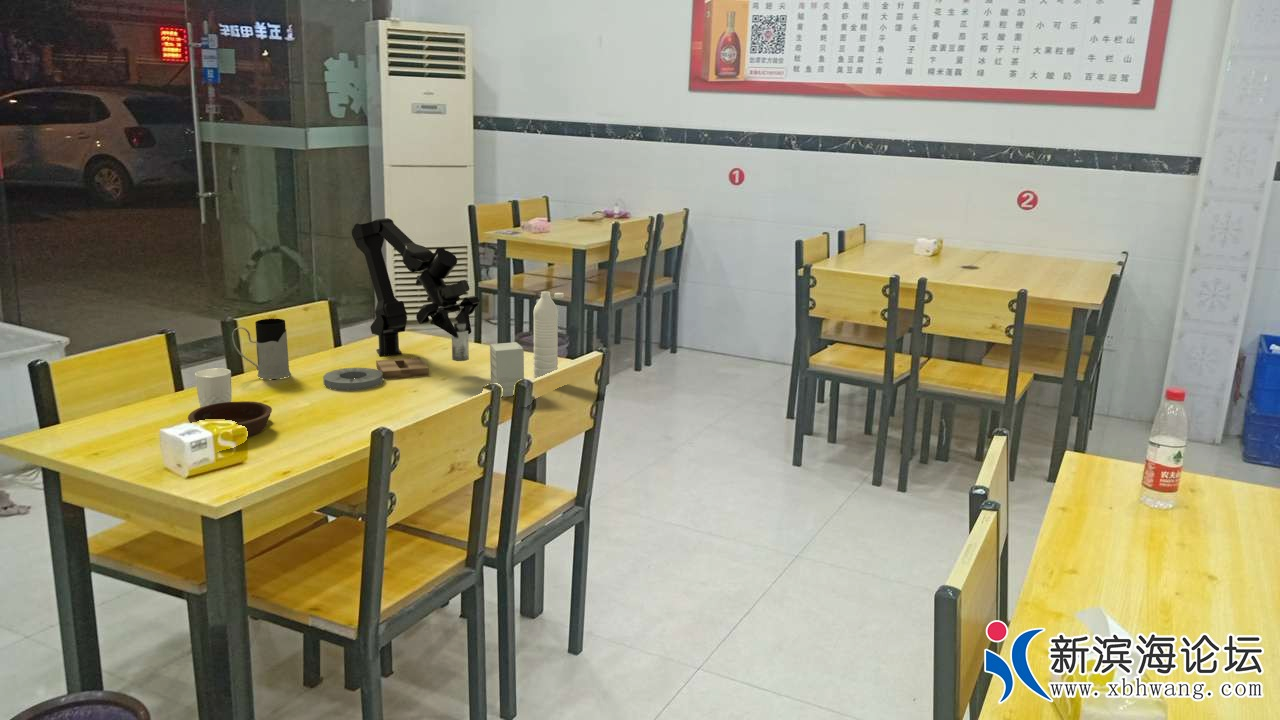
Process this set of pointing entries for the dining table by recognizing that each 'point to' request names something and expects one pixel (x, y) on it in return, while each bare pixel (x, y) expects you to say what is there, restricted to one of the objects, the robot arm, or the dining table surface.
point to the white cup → (213, 386)
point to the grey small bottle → (460, 343)
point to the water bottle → (545, 334)
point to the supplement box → (506, 365)
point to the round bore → (346, 381)
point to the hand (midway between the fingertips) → (463, 334)
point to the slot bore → (395, 371)
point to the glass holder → (270, 348)
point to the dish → (236, 414)
